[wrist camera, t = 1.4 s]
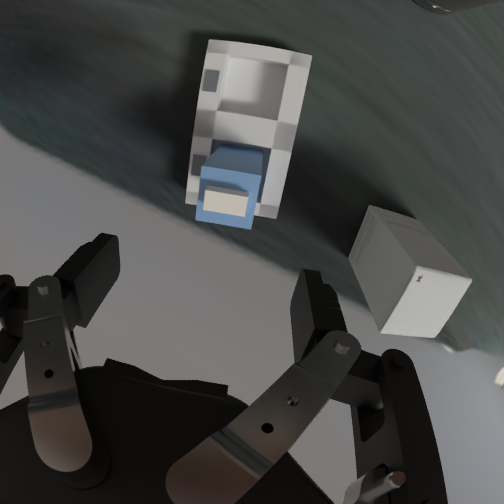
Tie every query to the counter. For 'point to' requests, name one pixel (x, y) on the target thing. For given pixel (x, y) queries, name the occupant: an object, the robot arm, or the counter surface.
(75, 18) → the counter surface
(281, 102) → the jack panel
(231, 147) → the plug
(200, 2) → the counter surface
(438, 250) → the supplement box
